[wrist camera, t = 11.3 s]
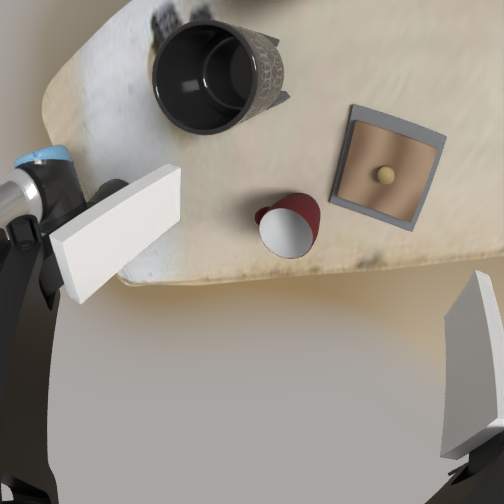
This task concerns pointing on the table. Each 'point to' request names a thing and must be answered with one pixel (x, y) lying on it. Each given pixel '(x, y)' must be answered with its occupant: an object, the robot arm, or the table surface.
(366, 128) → the lid
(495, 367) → the robot arm
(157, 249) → the table surface
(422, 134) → the mat
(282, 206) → the mug
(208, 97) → the planter
